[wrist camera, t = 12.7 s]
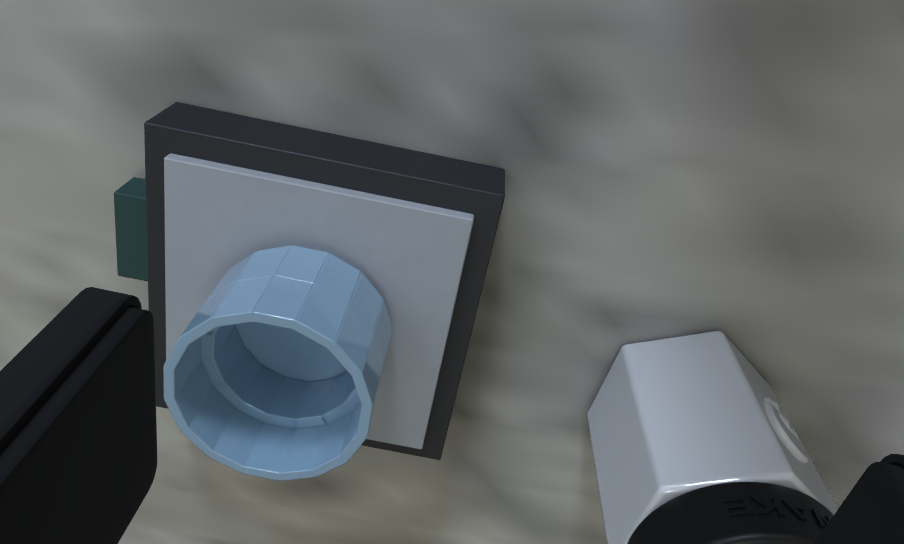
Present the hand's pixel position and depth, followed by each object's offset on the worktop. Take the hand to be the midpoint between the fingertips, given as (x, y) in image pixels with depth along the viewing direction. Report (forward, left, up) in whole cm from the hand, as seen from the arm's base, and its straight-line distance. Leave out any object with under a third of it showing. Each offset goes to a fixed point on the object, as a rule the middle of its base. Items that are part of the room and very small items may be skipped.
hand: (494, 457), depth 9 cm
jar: (+14, +12, -22) cm, 28 cm away
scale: (+11, -6, -21) cm, 25 cm away
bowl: (+11, -6, -18) cm, 22 cm away
